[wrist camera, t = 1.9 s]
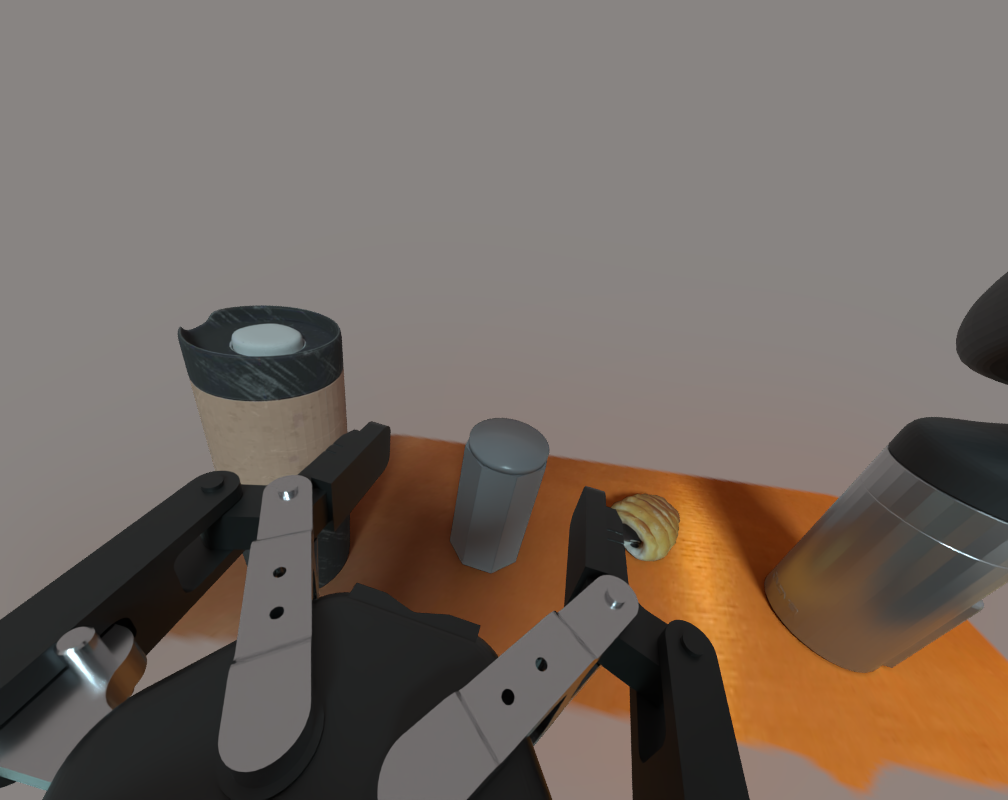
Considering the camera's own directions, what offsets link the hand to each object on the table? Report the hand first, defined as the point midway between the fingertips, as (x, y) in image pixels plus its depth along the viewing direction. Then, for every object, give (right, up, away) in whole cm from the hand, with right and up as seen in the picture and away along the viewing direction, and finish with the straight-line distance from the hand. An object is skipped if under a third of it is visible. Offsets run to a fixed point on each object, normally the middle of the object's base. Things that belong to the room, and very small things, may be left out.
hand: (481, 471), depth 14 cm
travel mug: (-16, -10, +15) cm, 24 cm away
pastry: (+15, -12, +25) cm, 32 cm away
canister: (-1, -11, +20) cm, 23 cm away
